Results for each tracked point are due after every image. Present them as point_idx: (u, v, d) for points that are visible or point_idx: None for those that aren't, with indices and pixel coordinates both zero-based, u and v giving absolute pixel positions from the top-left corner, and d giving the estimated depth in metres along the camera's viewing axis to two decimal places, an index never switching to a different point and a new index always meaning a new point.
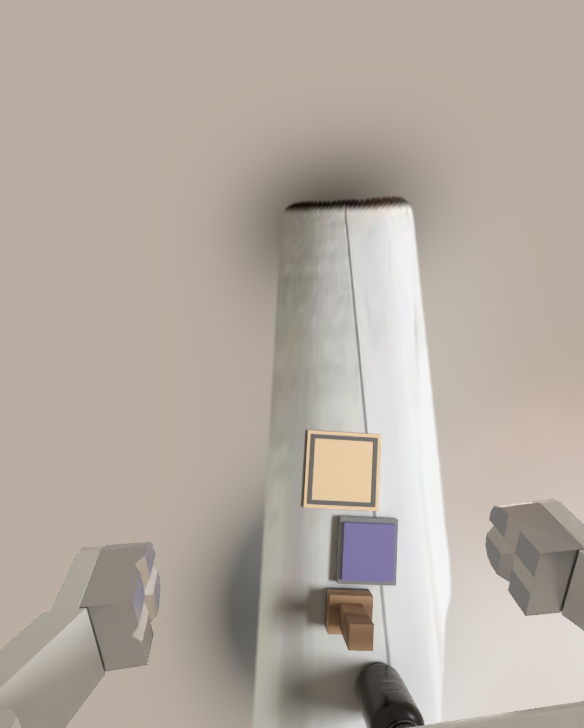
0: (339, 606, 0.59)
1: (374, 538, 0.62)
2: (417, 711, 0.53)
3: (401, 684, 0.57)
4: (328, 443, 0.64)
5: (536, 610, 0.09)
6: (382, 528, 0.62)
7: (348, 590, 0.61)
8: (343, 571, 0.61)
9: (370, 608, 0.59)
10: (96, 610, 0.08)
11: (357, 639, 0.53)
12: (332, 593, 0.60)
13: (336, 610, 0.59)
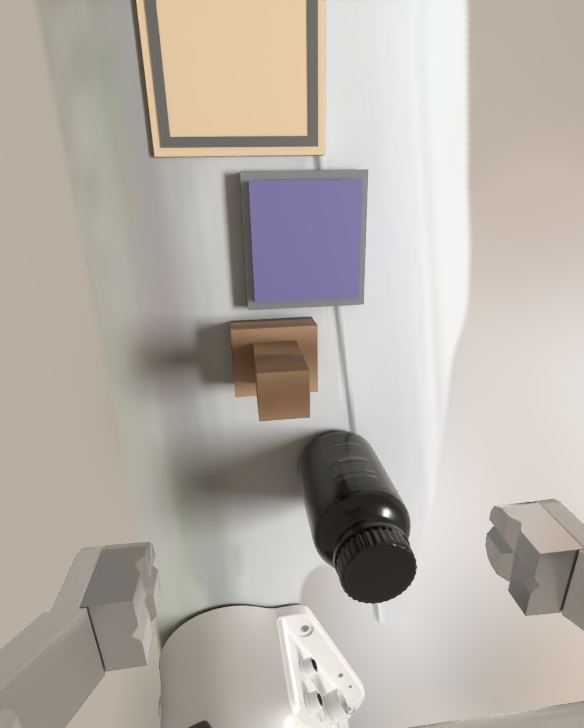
0: (252, 348, 0.30)
1: (317, 212, 0.29)
2: (398, 503, 0.29)
3: (371, 461, 0.32)
4: None
5: (536, 610, 0.09)
6: (334, 189, 0.28)
7: (270, 321, 0.32)
8: (256, 285, 0.30)
9: (313, 347, 0.31)
10: (96, 610, 0.08)
11: (276, 400, 0.25)
12: (236, 328, 0.30)
13: (247, 356, 0.30)
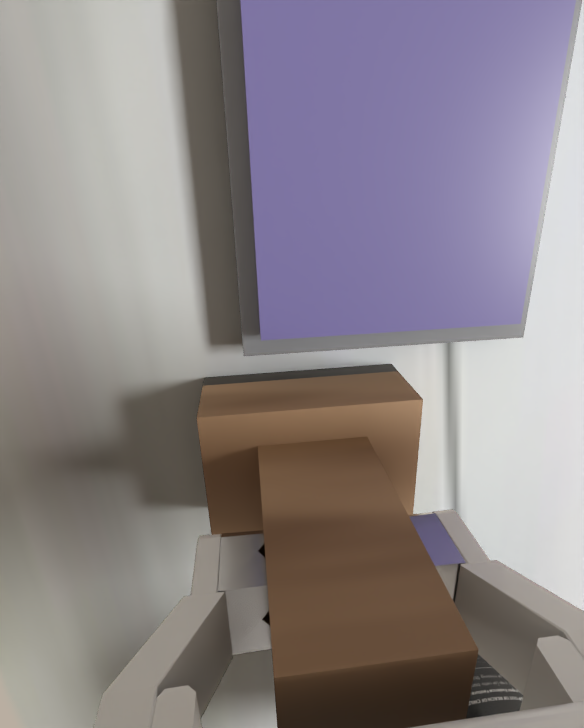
0: (254, 460, 0.12)
1: (439, 87, 0.10)
2: None
3: None
4: None
5: None
6: (493, 11, 0.10)
7: (300, 381, 0.13)
8: (264, 296, 0.11)
9: (408, 450, 0.12)
10: (232, 594, 0.08)
11: None
12: (212, 408, 0.12)
13: (242, 477, 0.12)
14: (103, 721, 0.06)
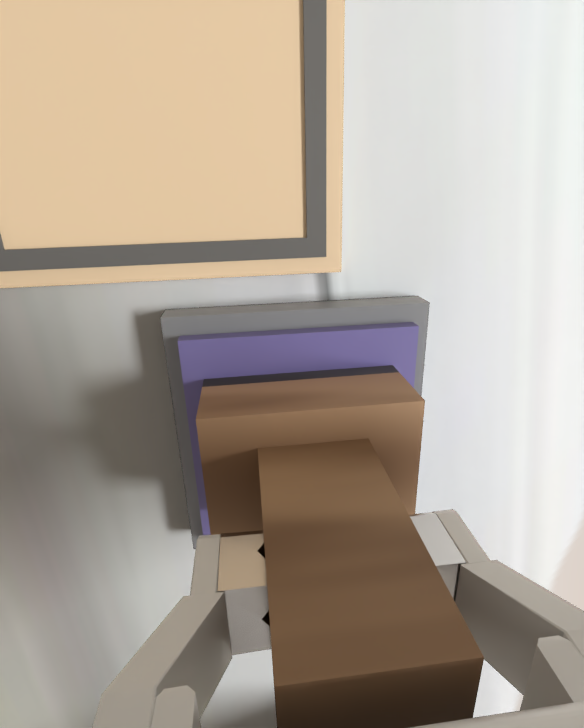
0: (254, 462, 0.12)
1: None
2: None
3: None
4: None
5: None
6: (359, 347, 0.14)
7: (300, 382, 0.13)
8: (205, 518, 0.15)
9: (410, 452, 0.12)
10: (231, 594, 0.08)
11: None
12: (212, 409, 0.11)
13: (241, 480, 0.12)
14: (102, 721, 0.06)
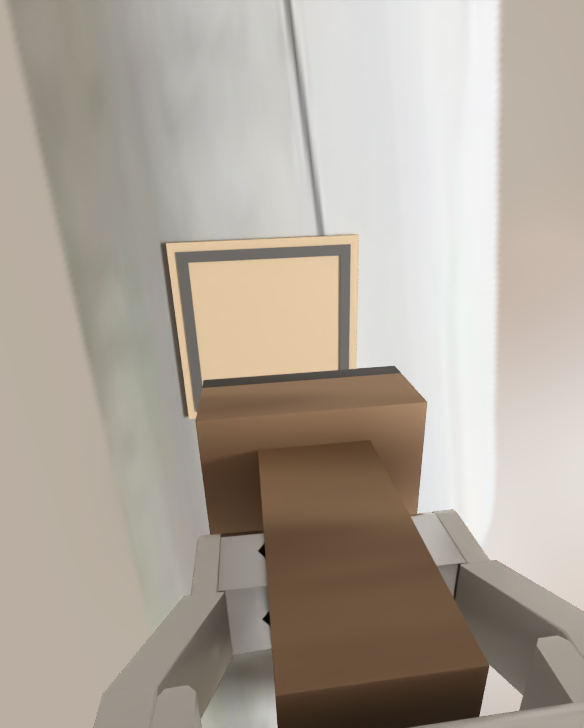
0: (255, 464, 0.11)
1: None
2: None
3: None
4: (225, 272, 0.25)
5: None
6: None
7: (300, 384, 0.13)
8: None
9: (412, 453, 0.12)
10: (232, 594, 0.08)
11: None
12: (212, 411, 0.11)
13: (242, 482, 0.12)
14: (103, 721, 0.06)
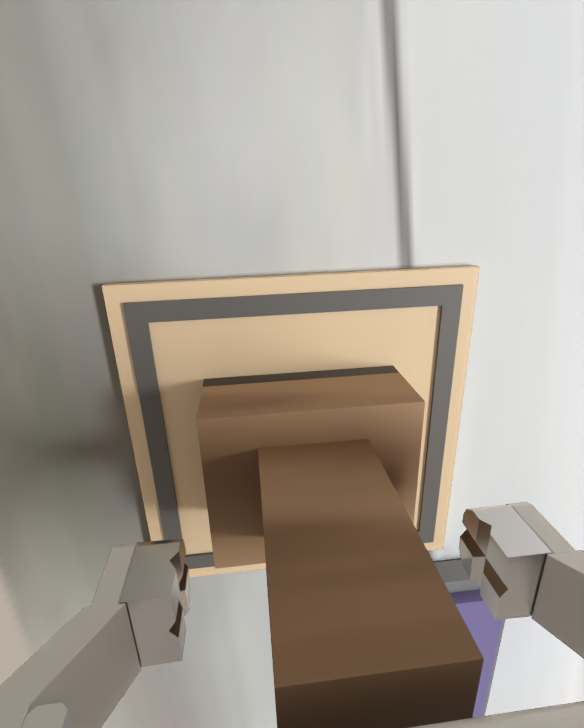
0: (254, 462, 0.12)
1: None
2: None
3: None
4: (221, 339, 0.13)
5: (506, 614, 0.09)
6: None
7: (300, 383, 0.13)
8: None
9: (410, 452, 0.12)
10: (134, 606, 0.08)
11: None
12: (212, 409, 0.11)
13: (242, 480, 0.12)
14: None
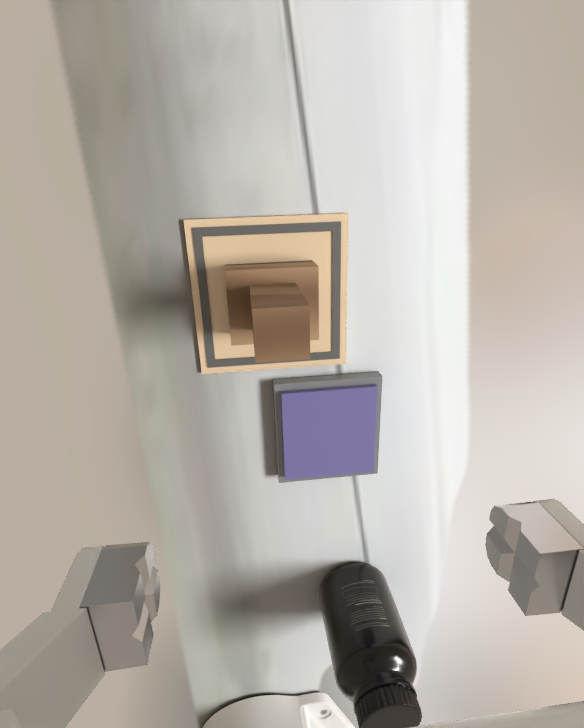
0: (248, 292, 0.28)
1: (338, 412, 0.34)
2: (406, 653, 0.34)
3: (383, 602, 0.38)
4: (233, 245, 0.29)
5: (536, 610, 0.09)
6: (353, 395, 0.33)
7: (268, 264, 0.29)
8: (286, 467, 0.35)
9: (314, 290, 0.28)
10: (96, 610, 0.08)
11: (273, 339, 0.23)
12: (230, 269, 0.28)
13: (243, 300, 0.28)
14: None
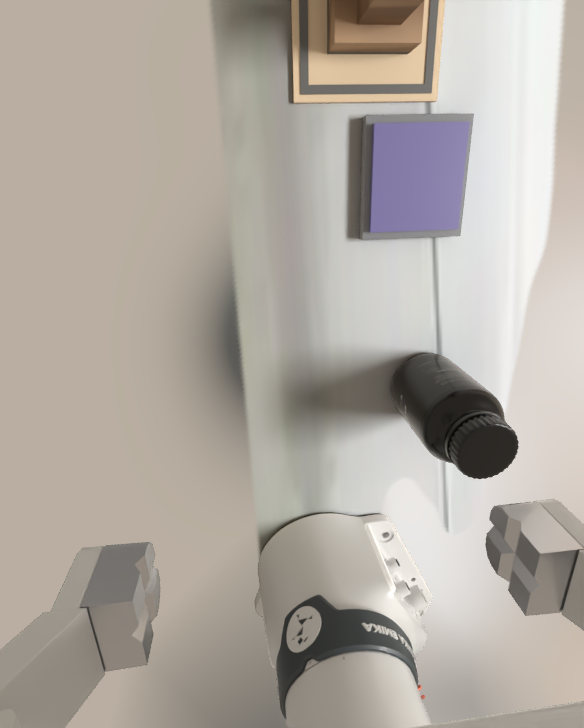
0: None
1: (429, 151, 0.33)
2: (496, 400, 0.34)
3: (464, 372, 0.37)
4: None
5: (536, 610, 0.09)
6: (445, 130, 0.33)
7: None
8: (373, 217, 0.35)
9: None
10: (96, 610, 0.08)
11: None
12: None
13: None
14: None
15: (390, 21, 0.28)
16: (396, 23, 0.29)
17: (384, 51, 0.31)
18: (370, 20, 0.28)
